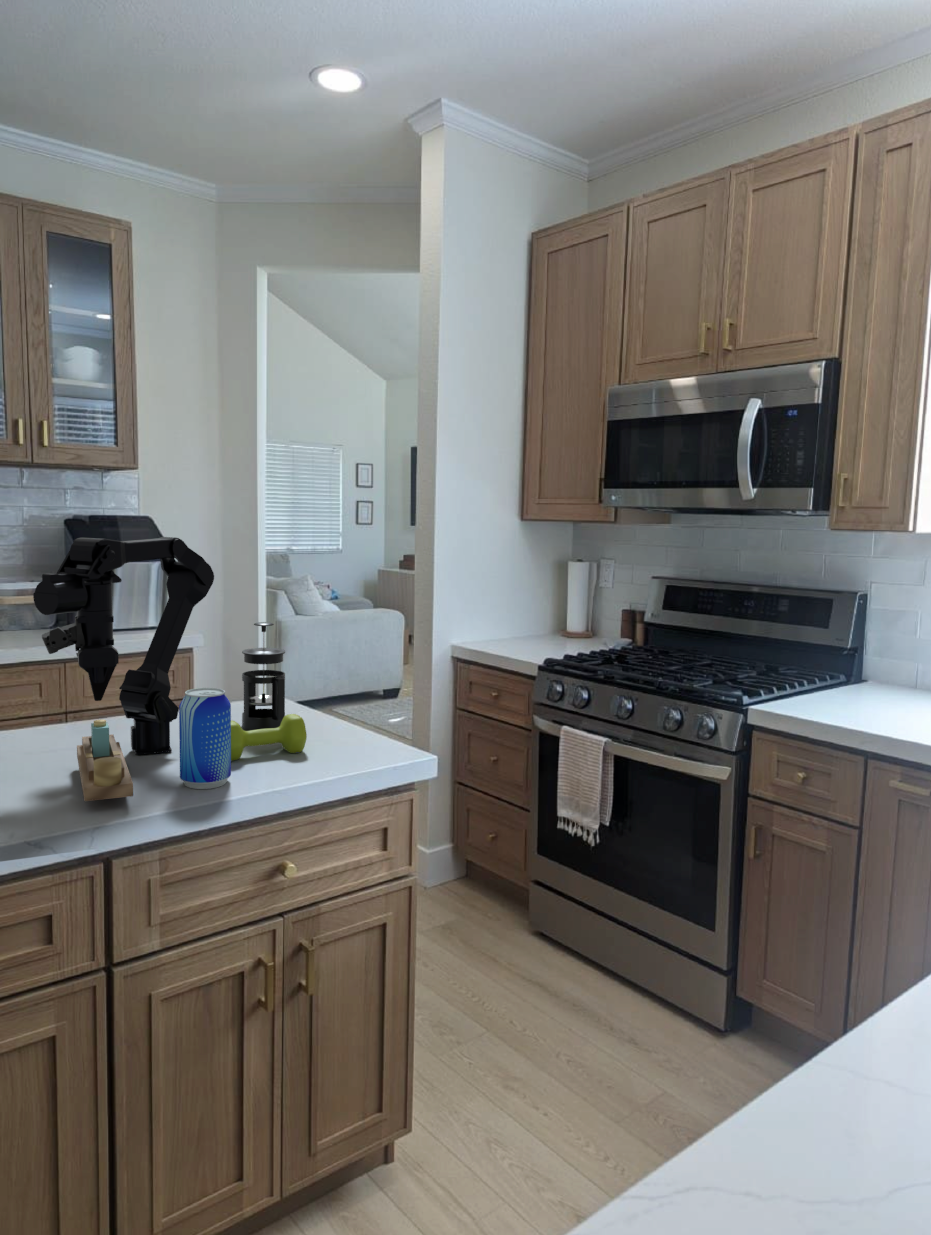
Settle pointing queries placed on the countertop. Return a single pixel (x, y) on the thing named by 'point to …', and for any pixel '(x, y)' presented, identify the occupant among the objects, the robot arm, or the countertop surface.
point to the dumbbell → (270, 736)
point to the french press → (263, 717)
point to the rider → (100, 738)
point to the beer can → (205, 738)
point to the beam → (103, 772)
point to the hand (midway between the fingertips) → (96, 696)
